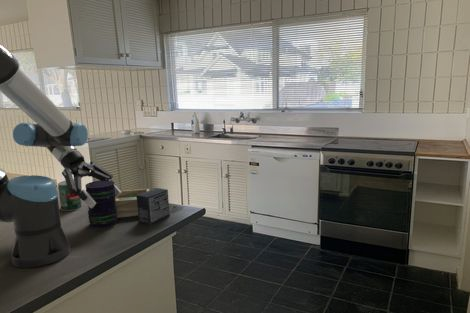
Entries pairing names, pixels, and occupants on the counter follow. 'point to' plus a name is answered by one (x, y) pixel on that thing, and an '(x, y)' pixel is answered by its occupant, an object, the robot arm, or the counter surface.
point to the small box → (153, 205)
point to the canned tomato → (68, 198)
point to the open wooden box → (128, 202)
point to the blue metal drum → (102, 204)
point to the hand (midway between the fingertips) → (107, 200)
